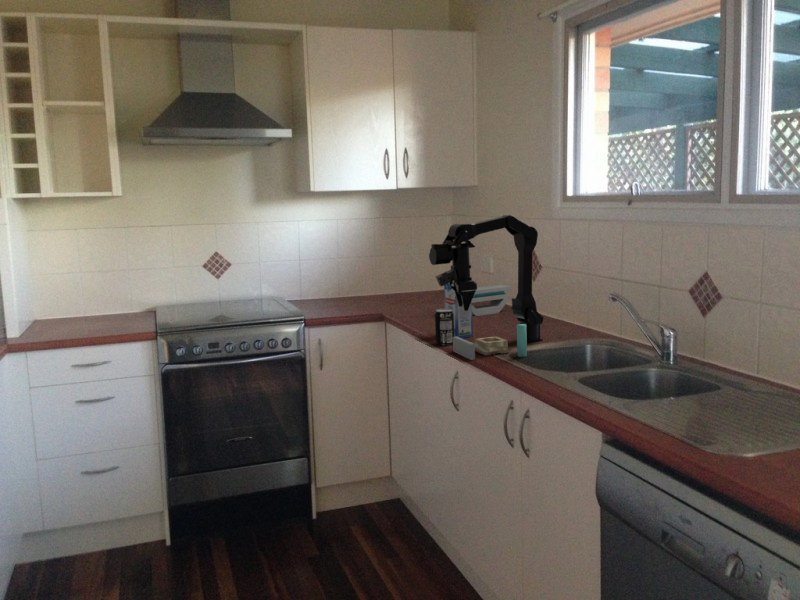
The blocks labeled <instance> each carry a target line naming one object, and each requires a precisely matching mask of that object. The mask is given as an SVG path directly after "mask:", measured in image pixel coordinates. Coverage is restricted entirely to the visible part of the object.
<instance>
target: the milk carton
mask: <svg viewBox="0 0 800 600" xmlns="http://www.w3.org/2000/svg"><path fill="white" fill-rule="evenodd" d="M450 286H452V284H451V285H449V284H448V283H447V284H445V285H444V286H443V301H444V304H443V307H444V309H452V312H453V314H454V335H455V337H456V336H457V337H460V338H462V339H465V338H471V337H473V336H474V329H473V328H474V327H473V326H474V325H473V315H472V305H473V303H472V301H471V304H470V306H469V309H468V311H465V310H464V307H463V305H462V306H461V307H459V305H458V301H457V298H456V294H455V291H454V290H453V289H452V288H451V287H450Z"/></svg>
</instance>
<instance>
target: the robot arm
mask: <svg viewBox="0 0 800 600" xmlns="http://www.w3.org/2000/svg"><path fill="white" fill-rule="evenodd" d="M502 229H505V230H506V231H507V232H508V233H509V235H511V236H513V241H514V246H515V248H516V250H517V256H518V257H517V258H518V259H517V262H518V263H517V266H518V267H517V294H516V297H515V298H514V297H513V298H511V308H510V310H511V311H512V313H513V315H514V317H516V319H517V322H518V323H519V324H526V333H527V343H531V342H539V341H543V338H541V324H543V322H544V319H545V318H544V316H542V315H541V313H540V312H539V311H538V309H537V302H536V300H535V298H534V294H533V253H534V250H535V248H536V247H537V243H538V237H539V233H538V230H537V229H536V227H534V226H532V225H531V226H530V225H528V224H527V223H525V222H523V221H521V220H519V219H518V218H516V217H515V216H514V215H512V214H511V215H510V214H504V215H502V216H498V217H494V218H490V219H486V220H483V221H481V220H480V221H478V222H474V223H473V222H472V223H454V224H452V225H450V226H449V228H448V233H447V235H446V237H445V238H444V240H443V242H442V243H432V244H431V247H430V250H429V254H428V258H429V262H430V264H431V265H432V266H436V265H446V264H451V263H452V264H451V266H450V269H449V270H447V271H444V272H442V273H440V274H438V275H436V276H435V279H436V282H437V283H438V285H439V286H440V287H444V285H445V284H447V283H448V284H449V285H451V284H452V286H450V287H451V288H452V289H453V290H454V291H455V294H456V298H457V301H458V305H459V307H461V306H462V305H463V307H464V310H465V311H468V309H469V306H470V304H471V301H472V299H473V296H474V294H475V292H476V290H477V287H478V283H477V282H476V281H474V280H472V279H473V277H472V276H471V269H472V265H471V264H470V263H471V262H470V249H471V248H472V249H473V248H476V245H475V244H474V243H473V242H471V240H473V239H474V238H476V237H477V236H479V235H482V234H485V233H486V234H487V233H490V232H494V231H497V230H502Z"/></svg>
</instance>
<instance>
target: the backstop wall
mask: <svg viewBox="0 0 800 600" xmlns="http://www.w3.org/2000/svg"><path fill="white" fill-rule="evenodd" d="M452 347H453V350H452V351H453V353H456V354H458V355H460V356H462V357H464V358H466V359H467V360H470V361H473V360H476V351H475V342H471V341H468V339H465V338H460V337H457V336H456V337H453V344H452Z"/></svg>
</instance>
